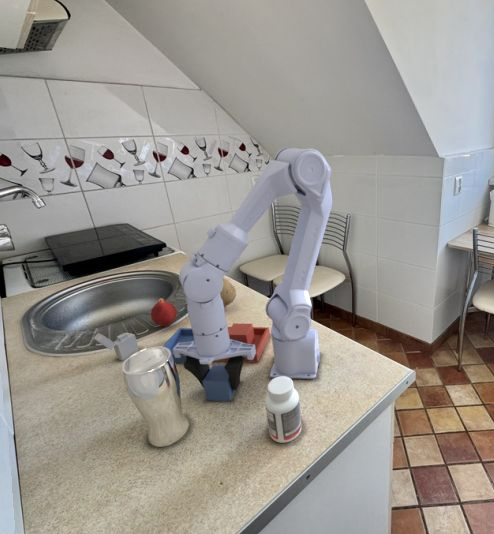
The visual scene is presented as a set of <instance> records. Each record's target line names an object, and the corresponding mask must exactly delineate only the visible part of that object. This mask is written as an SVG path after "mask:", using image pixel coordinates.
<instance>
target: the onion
mask: <svg viewBox="0 0 494 534" xmlns="http://www.w3.org/2000/svg"><path fill="white" fill-rule="evenodd" d="M177 311H178V310H177V308H176V307H175V305H174V304H172V303H171V302H170V301H169V302H168V301H165V299H164V298H159V299H158V301H157V302H156V303H155V304H154V305H153V307H152V308H151V310H150V318H151V320H152V322H153V323H154V324H156V325H157V326H159V327H169V326H171V324H172V323H173V322H174V321H176V319H177V315H178V312H177Z"/></svg>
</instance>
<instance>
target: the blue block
mask: <svg viewBox="0 0 494 534" xmlns="http://www.w3.org/2000/svg"><path fill="white" fill-rule="evenodd" d="M225 365H226V364H212V366H211V367H210V370H209V372H208V373H207V375H206V377H205V378H204V380H203V381H202V382H203V386H204V388H203V390H204V395H205V398H206V401H212V402H213V401H215V402H219V401H220V402H231V401H232V399H233V397H234V395H235V393H236V391H237V390H233V389H232V386H231V381H230V377H229V375H228V373H227V371H226V369H225Z"/></svg>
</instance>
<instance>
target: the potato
mask: <svg viewBox="0 0 494 534" xmlns="http://www.w3.org/2000/svg"><path fill="white" fill-rule="evenodd" d="M220 295H221V299H222V300H223V305H224V309H225V308H226V307H227V306H228V305H231V304H232V303H233V302H234V301H235V300H236V296H237V290H236V287H235V286H234V285H233V283H231V282H230V281H229V279H227V278H225V277H223V288H222V291H221V292H220Z"/></svg>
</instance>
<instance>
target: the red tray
mask: <svg viewBox="0 0 494 534" xmlns="http://www.w3.org/2000/svg"><path fill="white" fill-rule="evenodd" d="M227 327H228V331H229V330H230V328H231V326H227ZM253 331H254V337H255V341H254V343H253V345H255V349H256V354H255V356H254V358H253V360H248V359H247V357H245V359H244V362H246V363H247V362H248V363H258V362H259V360H260V358H261V356H262V353H263V351H264V349H265V347H266V344H267V342H268V340H269V337H270V335H271V332H270V327H267V326H266V327H265V326H253ZM228 360H229V358H225V359H219V360H214V361H213V362H227V361H228ZM244 362H243V363H244Z"/></svg>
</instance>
